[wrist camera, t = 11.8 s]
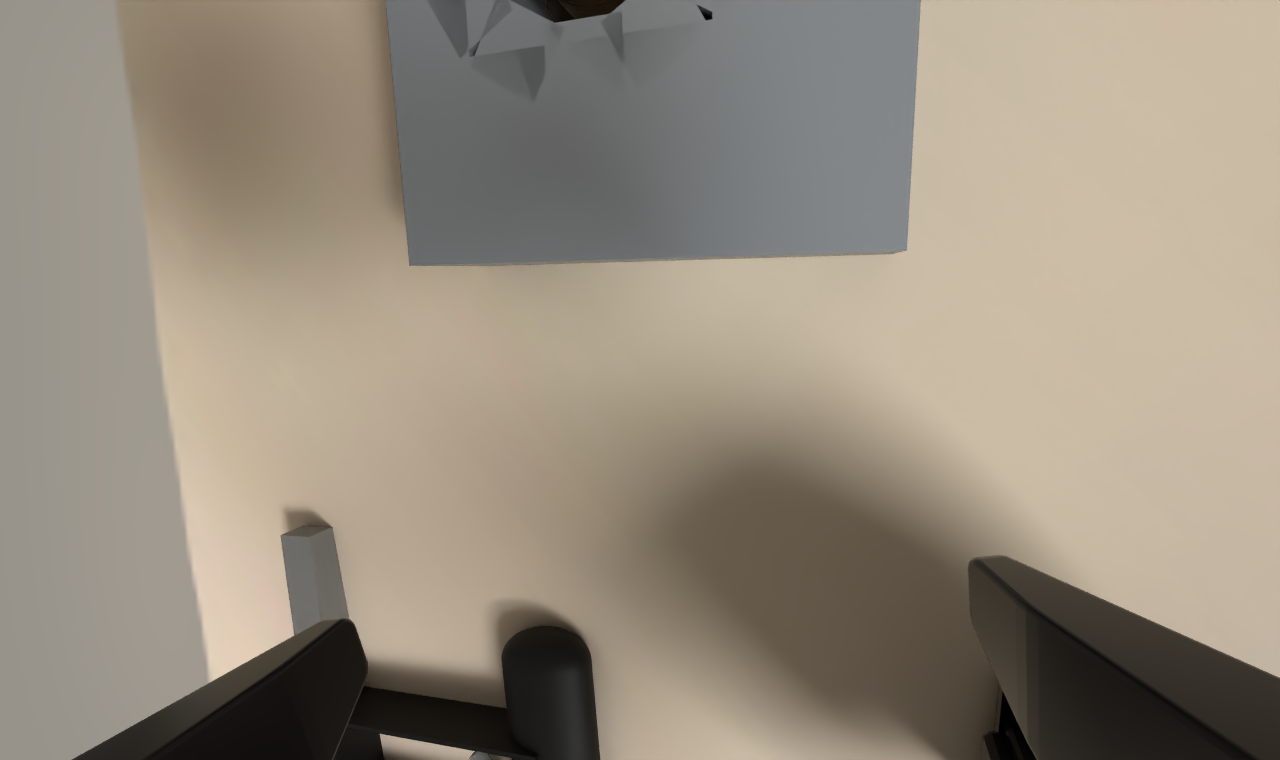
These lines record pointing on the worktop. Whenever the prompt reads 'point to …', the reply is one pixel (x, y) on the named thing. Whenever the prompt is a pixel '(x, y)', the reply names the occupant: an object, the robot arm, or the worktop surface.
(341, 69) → the worktop surface
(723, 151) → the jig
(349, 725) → the door handle
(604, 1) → the bushing
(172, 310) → the worktop surface
